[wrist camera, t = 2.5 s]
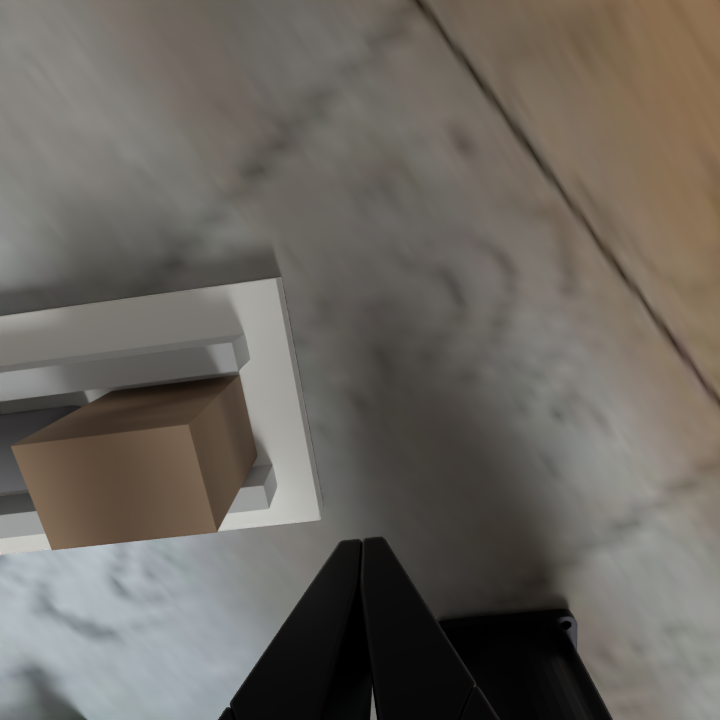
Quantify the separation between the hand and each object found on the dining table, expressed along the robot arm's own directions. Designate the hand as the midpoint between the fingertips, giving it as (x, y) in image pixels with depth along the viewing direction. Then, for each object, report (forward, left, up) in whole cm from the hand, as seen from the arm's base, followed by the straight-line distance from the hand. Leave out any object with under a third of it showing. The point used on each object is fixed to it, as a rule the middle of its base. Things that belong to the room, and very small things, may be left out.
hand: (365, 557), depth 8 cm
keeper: (+7, 0, -8) cm, 11 cm away
